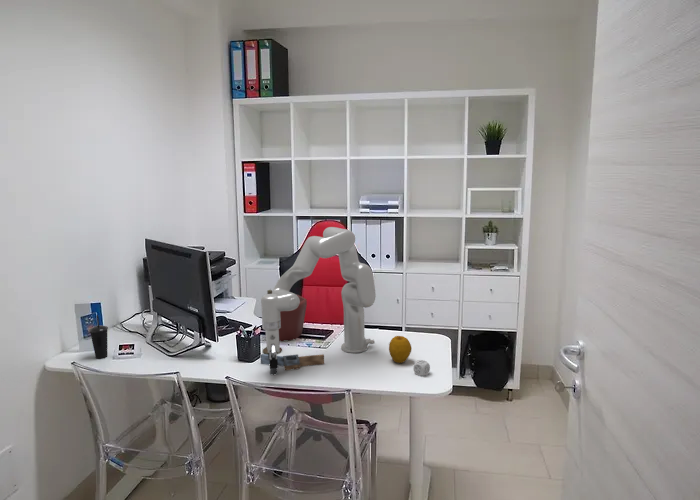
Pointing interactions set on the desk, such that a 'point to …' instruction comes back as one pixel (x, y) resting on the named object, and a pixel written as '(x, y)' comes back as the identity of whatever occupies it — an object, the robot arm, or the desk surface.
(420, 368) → the die
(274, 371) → the pin
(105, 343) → the drinking cup
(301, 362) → the hammer
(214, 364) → the desk surface
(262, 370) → the desk surface
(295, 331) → the bucket
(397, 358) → the apple
